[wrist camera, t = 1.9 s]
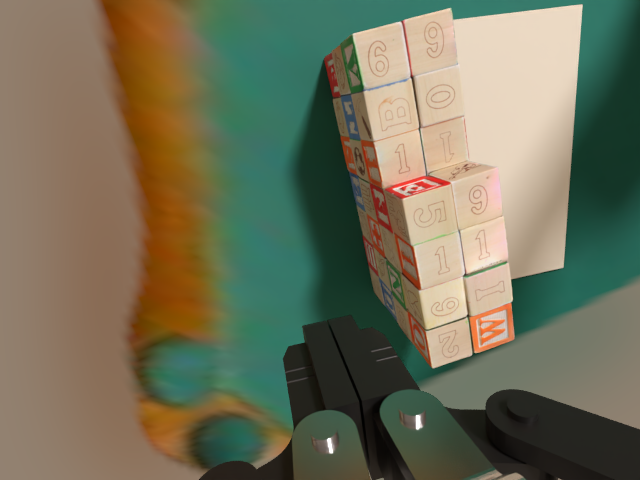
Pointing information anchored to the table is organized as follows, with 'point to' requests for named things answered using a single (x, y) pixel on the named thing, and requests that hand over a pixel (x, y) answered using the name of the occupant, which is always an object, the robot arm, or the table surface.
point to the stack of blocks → (422, 188)
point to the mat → (524, 121)
